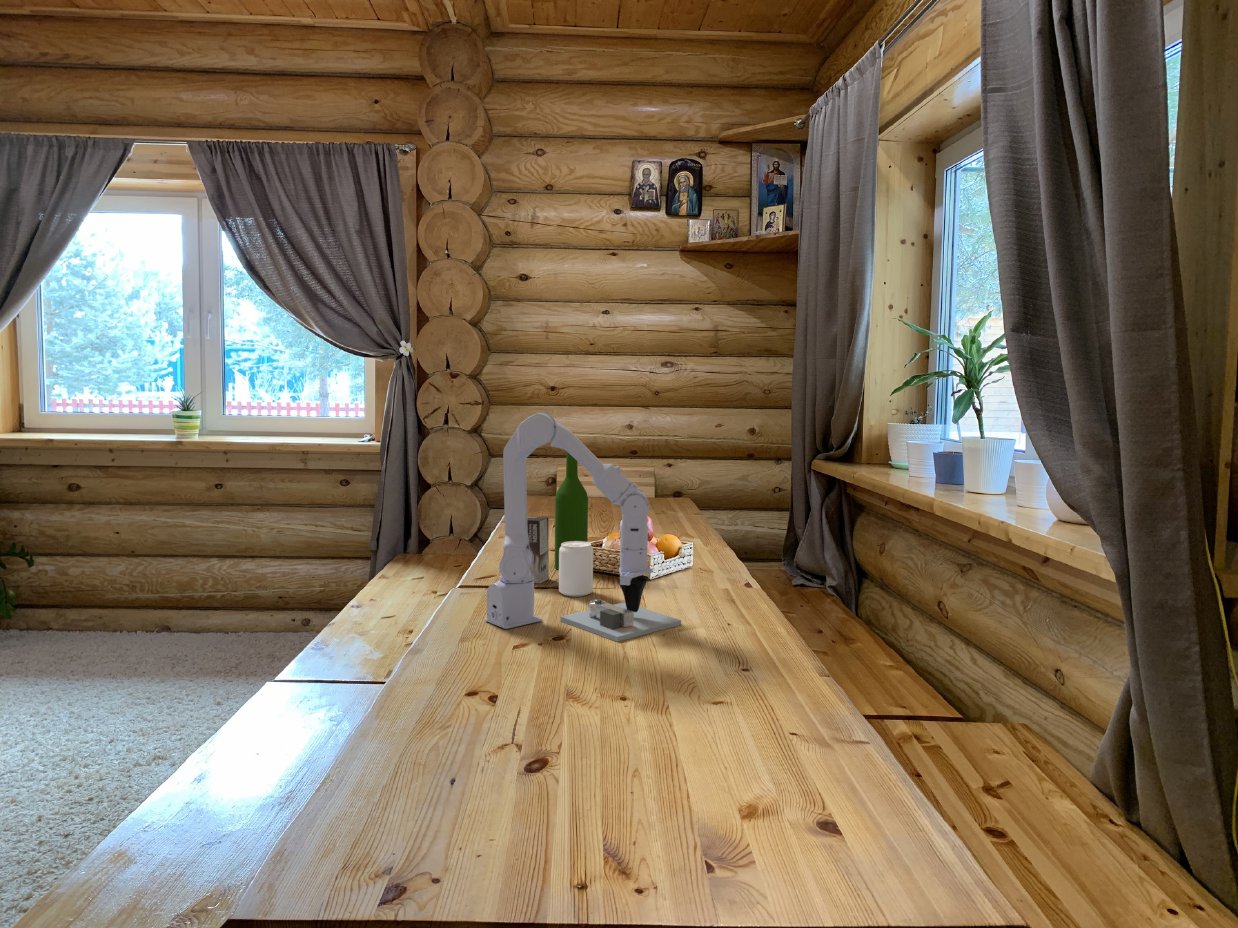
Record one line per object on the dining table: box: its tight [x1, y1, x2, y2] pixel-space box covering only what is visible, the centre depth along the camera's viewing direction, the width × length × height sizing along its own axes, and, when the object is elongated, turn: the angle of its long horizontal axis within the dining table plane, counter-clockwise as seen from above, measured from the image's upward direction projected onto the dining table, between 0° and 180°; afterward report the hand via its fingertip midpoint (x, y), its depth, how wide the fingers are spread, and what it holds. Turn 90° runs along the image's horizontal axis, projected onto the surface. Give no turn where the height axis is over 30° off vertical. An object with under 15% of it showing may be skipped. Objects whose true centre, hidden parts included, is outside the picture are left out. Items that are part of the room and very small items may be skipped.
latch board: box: [559, 601, 682, 643], centre depth 170 cm, size 18×18×4 cm
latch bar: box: [588, 598, 634, 627], centre depth 168 cm, size 12×4×3 cm, turn 41°
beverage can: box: [558, 541, 594, 598], centre depth 194 cm, size 8×8×12 cm
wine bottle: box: [554, 451, 589, 571], centre depth 220 cm, size 9×9×32 cm
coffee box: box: [527, 515, 550, 584], centre depth 206 cm, size 9×6×16 cm
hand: (632, 611), depth 171 cm, fingers closed
